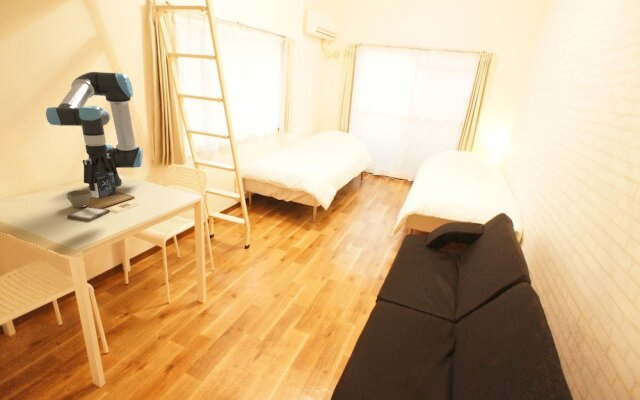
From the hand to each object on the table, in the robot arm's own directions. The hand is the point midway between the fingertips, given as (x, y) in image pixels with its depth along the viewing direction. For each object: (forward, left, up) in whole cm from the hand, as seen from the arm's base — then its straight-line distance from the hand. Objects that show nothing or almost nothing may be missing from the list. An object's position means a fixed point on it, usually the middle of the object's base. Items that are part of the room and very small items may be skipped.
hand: (104, 193), depth 150 cm
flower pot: (-11, -25, -14) cm, 30 cm away
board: (-3, -13, -13) cm, 19 cm away
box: (0, 0, -1) cm, 1 cm away
